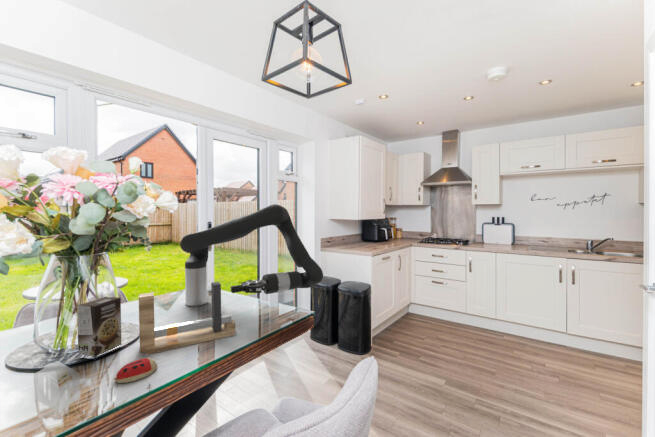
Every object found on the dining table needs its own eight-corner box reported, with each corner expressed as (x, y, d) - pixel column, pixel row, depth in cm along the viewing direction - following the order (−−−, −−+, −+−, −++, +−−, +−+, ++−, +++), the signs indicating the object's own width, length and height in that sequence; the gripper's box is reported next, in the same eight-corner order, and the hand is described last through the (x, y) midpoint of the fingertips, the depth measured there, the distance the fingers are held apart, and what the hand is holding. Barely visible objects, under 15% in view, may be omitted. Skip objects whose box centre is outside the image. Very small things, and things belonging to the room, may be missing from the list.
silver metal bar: (147, 337, 94) (147, 329, 94) (230, 320, 108) (229, 313, 108) (147, 340, 92) (147, 331, 92) (231, 322, 106) (231, 315, 106)
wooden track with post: (140, 344, 96) (139, 292, 95) (230, 325, 111) (230, 280, 111) (139, 356, 88) (138, 299, 88) (237, 334, 104) (236, 286, 103)
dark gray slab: (211, 327, 106) (211, 282, 105) (218, 325, 107) (218, 281, 106) (214, 331, 101) (213, 285, 101) (221, 330, 103) (221, 284, 102)
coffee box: (95, 361, 86) (93, 306, 85) (77, 358, 87) (75, 304, 86) (122, 346, 94) (121, 297, 94) (106, 344, 96) (105, 296, 95)
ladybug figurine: (161, 371, 80) (161, 358, 80) (120, 389, 72) (119, 375, 72) (150, 364, 84) (150, 351, 84) (109, 380, 76) (109, 367, 76)
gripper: (269, 270, 121) (226, 276, 112) (282, 276, 110) (235, 283, 101) (270, 288, 121) (227, 295, 112) (283, 296, 110) (236, 304, 101)
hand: (231, 289), depth 106 cm, fingers closed
